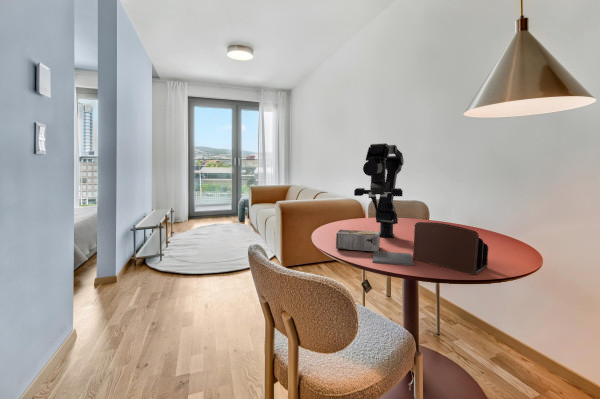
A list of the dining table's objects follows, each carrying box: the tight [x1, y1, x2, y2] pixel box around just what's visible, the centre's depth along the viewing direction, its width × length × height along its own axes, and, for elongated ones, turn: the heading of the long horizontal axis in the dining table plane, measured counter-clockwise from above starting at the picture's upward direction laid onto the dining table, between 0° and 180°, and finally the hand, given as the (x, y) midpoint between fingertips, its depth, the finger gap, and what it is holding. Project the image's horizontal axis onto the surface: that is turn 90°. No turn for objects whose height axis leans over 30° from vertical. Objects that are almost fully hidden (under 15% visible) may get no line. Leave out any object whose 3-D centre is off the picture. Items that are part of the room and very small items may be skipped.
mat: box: [372, 251, 415, 267], centre depth 99 cm, size 11×13×1 cm
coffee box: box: [335, 229, 381, 252], centre depth 111 cm, size 9×6×16 cm
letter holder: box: [412, 221, 489, 276], centre depth 93 cm, size 10×20×14 cm, turn 39°
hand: (377, 212), depth 116 cm, fingers closed
